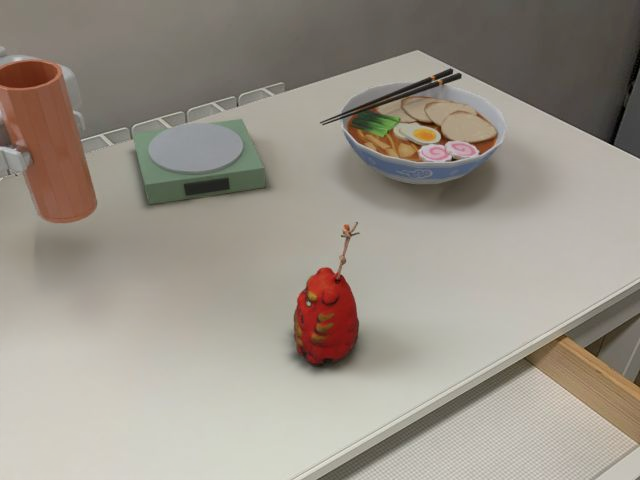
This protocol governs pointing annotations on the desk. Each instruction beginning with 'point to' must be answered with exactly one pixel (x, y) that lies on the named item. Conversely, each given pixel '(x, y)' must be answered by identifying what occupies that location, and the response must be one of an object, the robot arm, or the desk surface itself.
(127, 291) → the desk surface
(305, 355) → the red clay folk toy
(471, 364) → the desk surface
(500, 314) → the desk surface
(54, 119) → the cup
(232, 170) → the scale
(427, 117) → the ramen bowl
